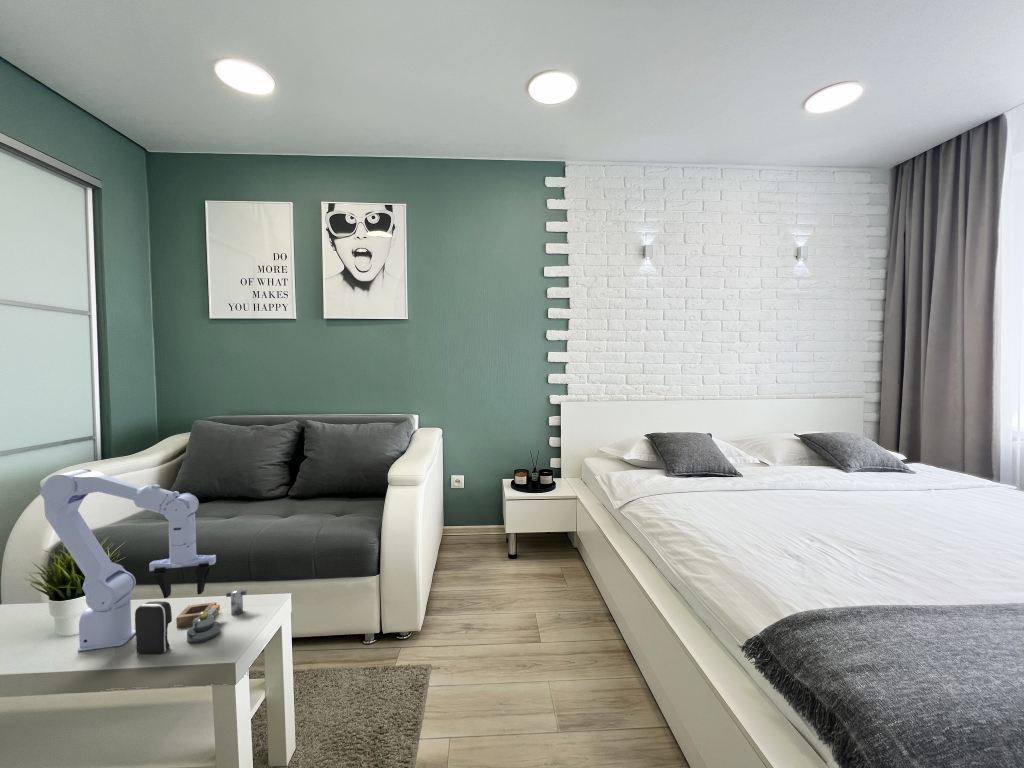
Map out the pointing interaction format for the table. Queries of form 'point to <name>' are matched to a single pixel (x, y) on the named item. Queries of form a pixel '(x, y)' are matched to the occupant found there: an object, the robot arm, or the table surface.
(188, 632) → the base
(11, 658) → the table surface
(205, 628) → the collar
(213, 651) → the table surface
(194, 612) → the holder
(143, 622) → the battery charger
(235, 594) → the key
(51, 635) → the table surface
